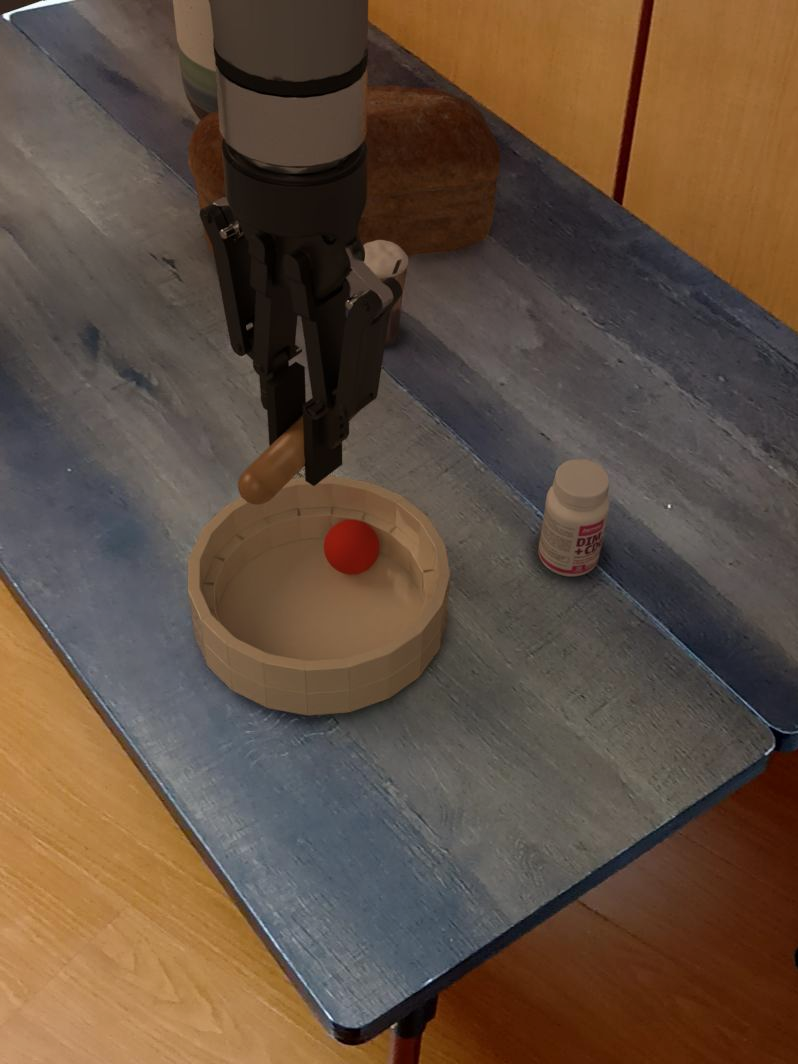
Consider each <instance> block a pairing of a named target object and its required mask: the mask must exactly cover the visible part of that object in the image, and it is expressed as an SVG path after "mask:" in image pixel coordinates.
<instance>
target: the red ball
mask: <svg viewBox="0 0 798 1064" xmlns="http://www.w3.org/2000/svg"><path fill="white" fill-rule="evenodd" d="M324 553H325V556H326V559H327V561H328V562H329V564H330V565H331V566H332V567H333V568H334V569H336V570H337V571H339V572H341V573H344V574H351V575H353V574H359V573H362V572H364V571H366V570H368V569H369V568H370V567H371V566H372V565H373V564H374V563H375V561H376V559H377V557H378V554H379V540H378V537H377V535H376V533H375V531H374V530H373V529H372V528H371V527H370V526H369V525H368V524H366V523H364V522H362V521H359V520H344V521H341V522H339V523H337V524H336V525H334V526H333V527H332V528H331V529H330V530H329V532H328V533H327V535H326V538H325V541H324Z"/></svg>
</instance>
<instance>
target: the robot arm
mask: <svg viewBox="0 0 798 1064" xmlns="http://www.w3.org/2000/svg"><path fill="white" fill-rule="evenodd" d="M45 1H46V0H0V16H3V15H5V14H8V13H11V12H14V11H16V10H20V9H23V8H25V7H28V6H32V5H34V4H37V3H40V2H45ZM208 1H209V3H210V9H211V18H212V27H213V35H214V38H213V47H214V56H215V66H216V82H217V98H218V113H219V129H220V132H221V134H222V136H223V142H222V156H223V169H224V181H225V193H226V196H225V197H223V198H221V199H219V200H217V201H215V202H214V203H212V204H210V205H208V206H206V207H205V208H203V209H201V210H200V209H199V218H200V221H201V223H203V224H202V226H203V225H204V228H205V230H206V232H207V235H208V237H209V239H210V242H211V244H212V247H213V252H214V257H213V259H214V258H215V259H214V263H215V268H216V273H217V274H216V275H217V279H218V285H219V289H220V296H221V300H222V306H223V311H224V316H225V322H226V326H227V332H228V339H229V342H230V343H229V344H230V346H231V349H232V351H233V352H234V354H236V355H237V356H239V357H245V356H246V355H247V356H248V357H249V358H250V359H251V360H252V367H253V370H254V372H255V373H256V374H257V375H258V377H259V379H258V380H259V392H260V393H259V394H260V403H261V405H262V408H263V409H264V410H265V411H266V413H267V414H266V415H267V428H268V429H267V431H268V448H269V447H270V446H271V445H272V444H273V443H274V442H275V441H276V440H277V439H278V438H279V437H280V436H281V435H282V434H283V433H284V432H285V431H286V430H287V429H288V428H289V427H290V426H291V425H292V424H293V423H294V422H295V421H296V420H297V419H298V418H300V417H301V416H302V415H303V432H304V457H305V466H304V477H305V481H306V482H308V483H310V484H311V485H313V486H315V485H316V484H318V483H319V482H320V481H322V480H323V479H324V478H325V477H327V476H330V475H331V474H332V473H333V472H335V471H336V470H337V469H338V468H340V467H341V466H342V465H343V442H344V441H346V440H347V438H348V437H349V435H350V421H349V418H350V417H352V416H353V415H354V414H356V413H357V412H358V413H360V412H361V411H362V409H364V408H365V407H367V406H368V405H369V404H370V403H372V402H373V401H374V400H376V399H377V398H378V395H379V394H378V393H379V386H380V380H381V373H382V368H383V361H384V355H385V346H386V345H385V342H386V335H387V329H388V322H389V316H390V311H391V309H392V308H393V306H394V305H395V304H396V302H397V301H398V299H399V298H400V297H401V295H402V287H401V285H400V284H399V282H398V281H397V280H396V279H394V278H392V277H389V278H387V279H386V280H384V281H383V282H381V281H380V279H379V278H378V277H377V276H376V275H375V274H374V273H373V272H372V271H371V269H370V268H369V267H368V266H367V265H366V264H365V263H364V260H365V249H364V246H363V244H362V241H361V238H360V235H359V230H358V226H359V222H360V219H361V216H362V213H363V210H364V207H365V204H366V200H367V144H366V141H365V137H366V134H367V86H368V62H369V49H368V41H369V35H368V34H369V0H208ZM346 308H347V309H348V310H349V311H348V313H347V309H346ZM298 316H299V317H300V318H301V326H302V327H301V328H302V333H303V341H304V347H305V354H306V355H305V357H306V362H307V370H308V377H309V384H310V385H309V386H310V391H311V398H310V399H309V400H307V390H306V367H305V365H303V364H301V363H299V362H298V361H295V362H293V363H292V364H290V361H292V360H293V359H294V358H296V357H297V356H299V355H300V354H301V353H303V349H302V348H300V346H298V345H296V339H297V328H298V327H297V326H298ZM250 324H251V325H252V326H251V327H249V328H248V327H247V326H248V325H250ZM297 350H298V351H297ZM358 413H357V414H358ZM357 414H356V415H357Z"/></svg>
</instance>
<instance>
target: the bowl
mask: <svg viewBox="0 0 798 1064" xmlns="http://www.w3.org/2000/svg"><path fill="white" fill-rule="evenodd" d="M344 520H359V521H362V522H364V523H366V524H368V525H369V526H370V527H371V528H372V529H373V530H374V531H375V533H376V535H377V537H378V540H379V554H378V557H377V559H376V561H375V563H374V564H373V565H372V566H371V567H370V568H369V569H368V570H366V571H364V572H362V573H359V574H353V575H351V574H344V573H341V572H339V571H337V570H336V569H334V568H333V567H332V566H331V565H330V564H329V562H328V561H327V559H326V556H325V553H324V541H325V538H326V535H327V533H328V532H329V530H330V529H331V528H332V527H333V526H334V525H336V524H337V523H339V522H341V521H344ZM193 545H194V546H193V548H192V550H191V552H190V554H189V557H188V560H187V595H188V601H189V607H190V612H191V613H190V614H191V621H192V627H193V634H194V635H193V636H194V638H195V640H196V643H197V645H198V648H199V650H200V652H201V655H202V657H203V659H204V661H205V664H206V665H207V667H208V668H209V669H210V670H211V672H213V673H214V674H215V675H216V676H217V678H219V679H220V681H222V682H223V683H224V684H225V685H226V686H227V687H228V688H229V689H230V690H231V691H233V692H235V693H236V694H238V695H240V696H243V697H244V698H246V699H249V700H251V701H253V702H254V703H257V704H259V705H260V706H262V707H264V708H267V709H270V710H275V711H281V712H286V713H291V714H297V715H303V716H320V715H332V714H345V713H350V712H354V711H358V710H361V709H363V708H366V707H369V706H372V705H375V704H378V703H380V702H383V701H386V700H388V699H390V698H392V697H393V696H395V695H396V694H398V693H399V692H400V691H402V690H403V689H405V688H406V687H407V686H409V685H410V684H412V683H413V682H414V681H416V680H417V679H419V677H420V676H421V675H422V674H423V672H424V671H425V670H426V668H427V667H428V666H429V664H430V663H431V661H432V660H433V658H434V657H435V656H436V654H437V653H438V652H439V650H440V648H441V646H442V645H441V644H442V641H443V637H444V633H445V629H446V625H447V622H448V610H449V600H450V599H449V598H450V584H451V570H450V564H449V557H448V550H447V545H446V543H445V542H444V540H443V537H442V536H441V535H440V533H439V532H438V529H437V528H436V527H435V525H434V524H433V522H432V520H431V519H430V517H429V516H428V515H426V514H425V513H424V512H423V511H421V510H420V509H419V508H418V507H417V506H415V505H414V504H413V503H411V502H410V501H409V500H408V499H407V498H405V496H403V495H400V494H398V493H396V492H393V491H391V490H389V489H387V488H385V487H382V486H380V485H378V484H375V483H373V482H369V481H364V480H358V479H354V478H353V479H352V478H347V477H342V476H337V475H336V476H335V475H334V476H333V475H328V476H327V477H325V478H324V479H323V480H322V481H320V482H319V483H318V484H316V485H315V486H313V485H311V484H310V483H308V482H306V481H305V476H301V477H300V476H299V477H297V476H296V477H293V478H292V479H291V480H290V481H289V482H288V483H287V484H286V485H285V486H284V487H283V488H282V489H281V490H280V491H279V492H278V493H277V494H276V495H275V496H274V497H273V498H272V499H271V500H270V501H268V502H266V503H264V504H259V505H256V504H251V503H249V502H247V501H246V500H244V499H243V498H242V496H241V495H240V497H238V498H236V499H234V500H232V501H231V502H229V503H226V505H224V506H223V507H222V508H221V509H220V510H219V511H218V512H217V513H216V515H214V516H213V517H212V518H211V519H210V520H209V521H208V523H207V524H205V526H204V527H202V528H201V530H200V532H199V534H198V536H197V538H196V541H195V543H194V544H193Z"/></svg>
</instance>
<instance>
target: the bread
mask: <svg viewBox="0 0 798 1064" xmlns="http://www.w3.org/2000/svg"><path fill="white" fill-rule="evenodd" d="M365 141H366V144H367V200H366V204H365V207H364V210H363V213H362V216H361V219H360V222H359V226H358V230H359V235H360V238H361V241H362V244H363V245H364V244H366V243H368V242H373V241H376V240H385V241H390V242H393V243H395V244H396V245H398V246H399V247H400V248H401V249H402V250H403V251H404V252H405V253H406V255H407V256H414V255H421V254H432V253H434V254H435V253H444V252H445V253H446V252H452V251H456V250H457V251H458V250H461V249H464V248H467V247H471V246H474V245H476V244H479V243H481V242H483V241H484V240H486V239H487V238H488V236H489V232H490V229H491V225H492V222H493V216H494V212H495V203H496V192H497V183H498V177H499V173H500V164H501V150H500V146H499V144H498V141H497V139H496V137H495V136H494V133H493V132H492V129H491V128H490V126H489V124H488V123H487V120H486V119H485V116H484V115H483V112H482V111H481V110H480V109H479V108H477V107H476V105H474V104H473V103H472V102H471V101H469V100H467V99H465V98H463V97H462V96H461V97H460V96H458V95H455V94H454V93H450V92H447V91H444V90H442V89H439V88H436V87H426V88H425V87H424V88H416V87H410V86H404V85H367V134H366V137H365ZM222 142H223V136H222V134H221V132H220V129H219V113H218V111H216V112H213V113H210V114H209V115H207V116H206V117H205V118H203V119H202V120H199V122H198V123H197V125H195V127H194V130H193V133H192V135H191V136H190V139H189V143H188V149H187V150H188V157H187V158H188V159H187V161H188V164H189V168H190V171H191V174H192V176H193V179H194V182H195V187H196V192H197V198H198V199H197V200H198V206H199V211H200V210H201V209H203V208H205V207H206V206H208V205H210V204H212V203H214V202H215V201H217V200H219V199H221V198H223V197H225V196H226V193H225V181H224V169H223V156H222ZM201 223H202V222H201ZM201 225H202V228H203V229H202V230H203V233H204V237H205V242H206V245H207V247H208V249H209V251H210V253H211V255H212V257H213V259H214V260H215V258H214V252H213V247H212V244H211V242H210V239H209V237H208V235H207V232H206V230H205V228H204V225H203V223H202V224H201Z"/></svg>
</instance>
